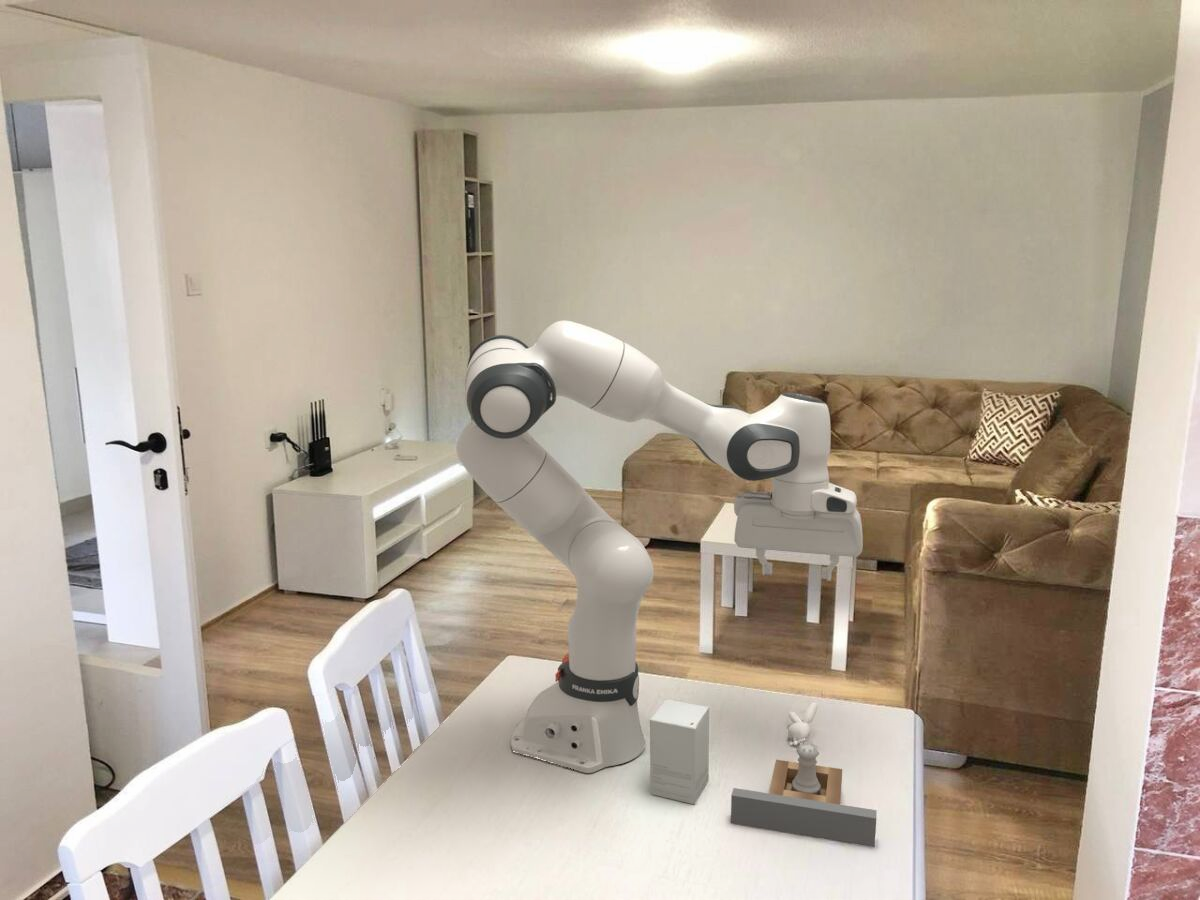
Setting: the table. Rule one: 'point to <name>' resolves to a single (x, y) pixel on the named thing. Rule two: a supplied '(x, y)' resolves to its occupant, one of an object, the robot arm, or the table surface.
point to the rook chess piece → (807, 770)
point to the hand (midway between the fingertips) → (796, 576)
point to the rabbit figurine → (801, 724)
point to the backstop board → (804, 817)
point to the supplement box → (679, 751)
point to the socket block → (825, 775)
